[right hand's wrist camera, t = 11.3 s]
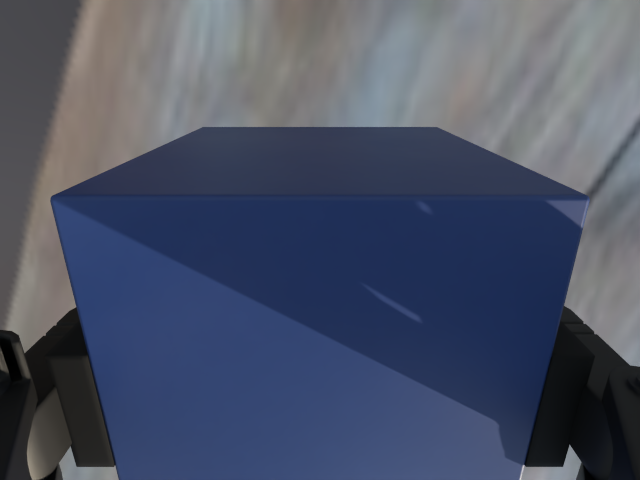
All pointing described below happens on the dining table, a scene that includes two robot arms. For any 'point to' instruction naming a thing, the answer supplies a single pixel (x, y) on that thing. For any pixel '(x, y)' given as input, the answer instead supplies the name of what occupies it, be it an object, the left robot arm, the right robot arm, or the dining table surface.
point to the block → (319, 303)
